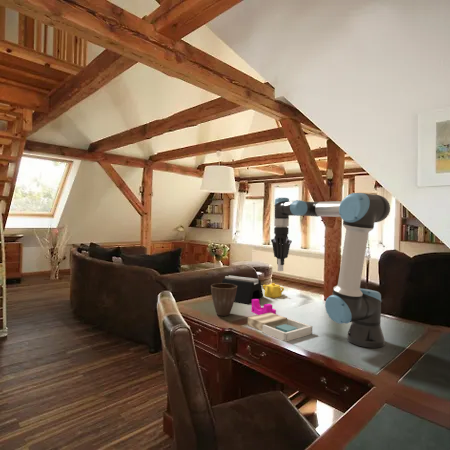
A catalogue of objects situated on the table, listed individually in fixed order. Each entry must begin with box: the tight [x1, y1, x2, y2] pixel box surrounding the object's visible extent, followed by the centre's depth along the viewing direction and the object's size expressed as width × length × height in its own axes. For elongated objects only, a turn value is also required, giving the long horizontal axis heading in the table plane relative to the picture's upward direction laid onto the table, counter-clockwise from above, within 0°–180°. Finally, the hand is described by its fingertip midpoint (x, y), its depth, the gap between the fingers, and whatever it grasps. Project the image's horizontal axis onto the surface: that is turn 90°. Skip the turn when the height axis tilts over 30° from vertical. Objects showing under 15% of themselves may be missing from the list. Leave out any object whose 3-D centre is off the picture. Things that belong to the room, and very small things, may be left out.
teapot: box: [262, 282, 285, 299], centre depth 225 cm, size 14×13×10 cm
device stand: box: [221, 275, 264, 306], centre depth 219 cm, size 22×22×15 cm
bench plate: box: [247, 313, 288, 332], centre depth 164 cm, size 12×16×4 cm
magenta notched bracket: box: [251, 299, 277, 316], centre depth 184 cm, size 15×6×8 cm, turn 28°
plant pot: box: [210, 282, 237, 317], centre depth 184 cm, size 15×15×16 cm
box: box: [261, 318, 313, 343], centre depth 154 cm, size 15×18×4 cm
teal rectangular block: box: [276, 324, 297, 332], centre depth 154 cm, size 7×7×3 cm
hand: (280, 270), depth 174 cm, fingers closed
